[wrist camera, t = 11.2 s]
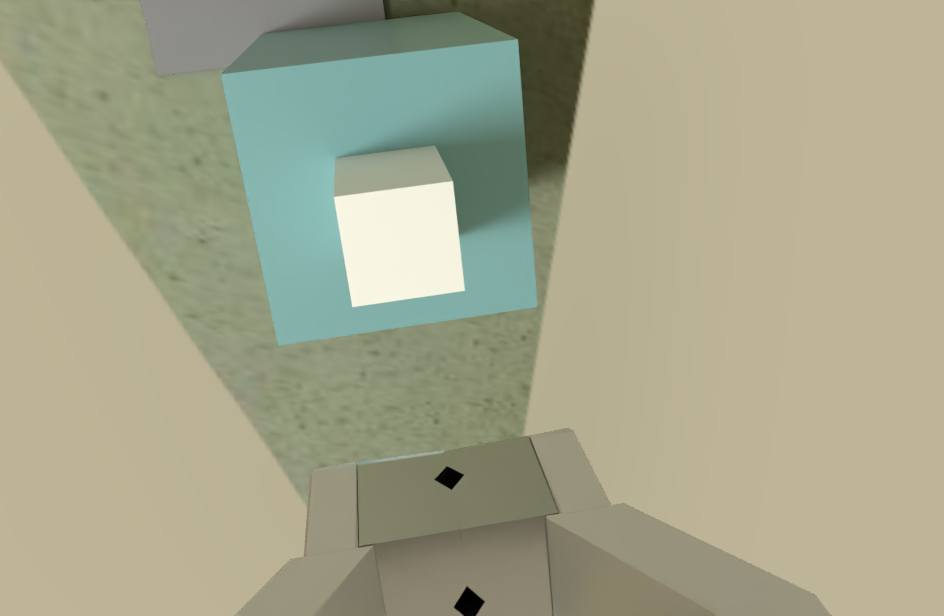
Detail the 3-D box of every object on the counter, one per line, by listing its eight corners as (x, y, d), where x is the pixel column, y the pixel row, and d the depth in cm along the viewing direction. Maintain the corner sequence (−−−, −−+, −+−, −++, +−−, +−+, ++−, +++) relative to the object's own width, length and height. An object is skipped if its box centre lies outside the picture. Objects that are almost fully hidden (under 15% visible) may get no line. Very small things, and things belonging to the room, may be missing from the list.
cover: (262, 33, 36) (196, 98, 20) (458, 11, 37) (553, 55, 20) (297, 222, 39) (267, 413, 23) (476, 198, 40) (570, 366, 24)
